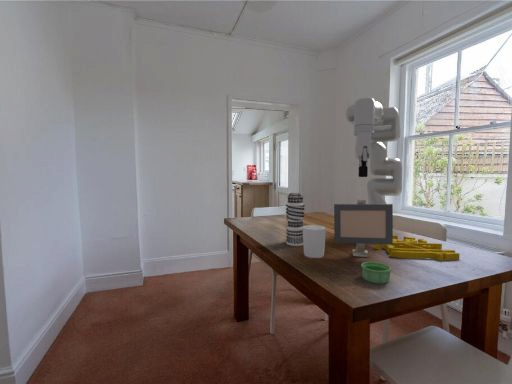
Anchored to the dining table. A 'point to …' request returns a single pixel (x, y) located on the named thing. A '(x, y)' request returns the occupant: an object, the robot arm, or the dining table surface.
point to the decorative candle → (295, 219)
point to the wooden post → (360, 247)
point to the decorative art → (417, 249)
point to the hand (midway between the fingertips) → (362, 176)
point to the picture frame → (363, 223)
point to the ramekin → (376, 272)
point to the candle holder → (314, 240)
